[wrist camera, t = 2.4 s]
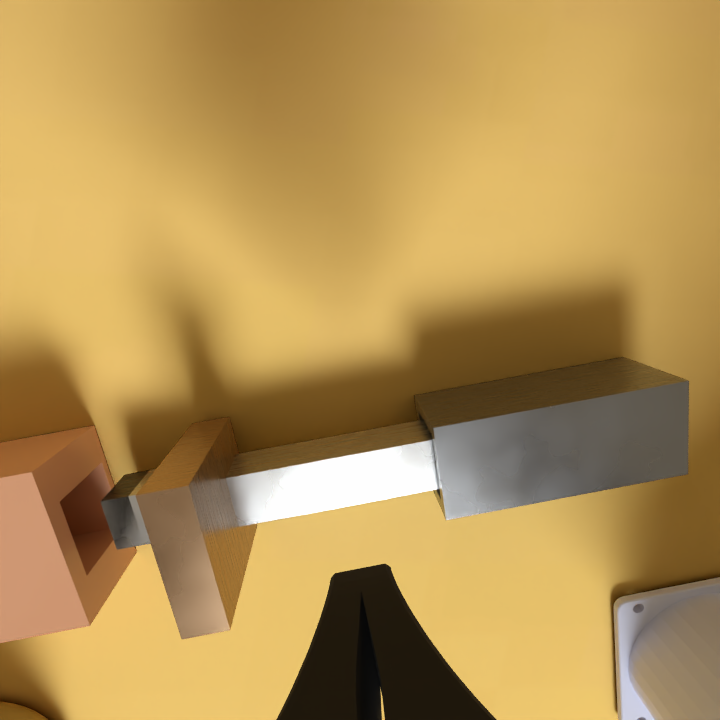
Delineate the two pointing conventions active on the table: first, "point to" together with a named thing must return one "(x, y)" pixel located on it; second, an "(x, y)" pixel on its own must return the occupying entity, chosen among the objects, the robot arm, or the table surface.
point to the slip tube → (251, 503)
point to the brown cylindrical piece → (18, 712)
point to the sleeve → (555, 434)
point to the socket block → (55, 534)
